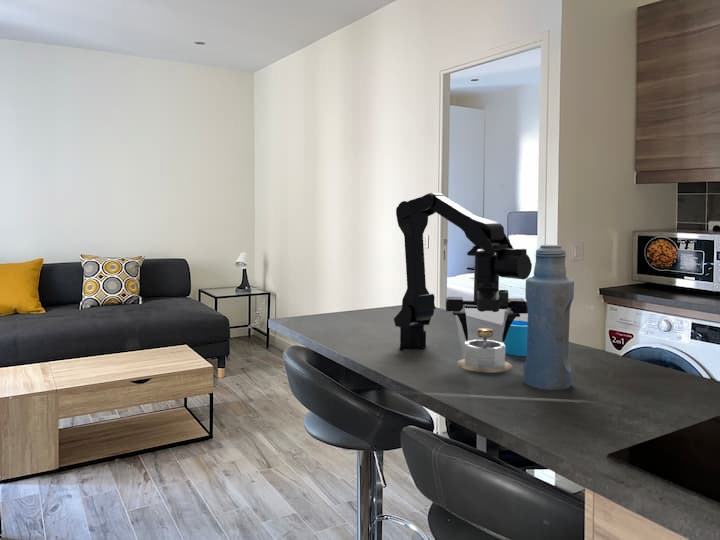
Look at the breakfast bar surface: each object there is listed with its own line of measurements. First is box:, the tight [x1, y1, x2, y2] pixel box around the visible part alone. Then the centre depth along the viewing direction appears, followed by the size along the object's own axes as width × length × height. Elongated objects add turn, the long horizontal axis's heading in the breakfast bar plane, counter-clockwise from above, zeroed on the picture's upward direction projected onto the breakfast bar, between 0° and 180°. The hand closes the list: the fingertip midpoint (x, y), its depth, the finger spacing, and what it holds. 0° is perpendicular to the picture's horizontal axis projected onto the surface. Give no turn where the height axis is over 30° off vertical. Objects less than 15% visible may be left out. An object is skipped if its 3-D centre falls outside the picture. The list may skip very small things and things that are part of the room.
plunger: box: [477, 327, 494, 348], centre depth 134 cm, size 6×6×7 cm
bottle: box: [522, 244, 575, 391], centre depth 119 cm, size 10×10×30 cm
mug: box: [501, 319, 528, 357], centre depth 149 cm, size 12×8×8 cm
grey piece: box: [463, 338, 506, 370], centre depth 136 cm, size 9×12×5 cm
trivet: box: [456, 358, 513, 373], centre depth 134 cm, size 13×13×1 cm
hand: (484, 340), depth 134 cm, fingers open, 8 cm apart
